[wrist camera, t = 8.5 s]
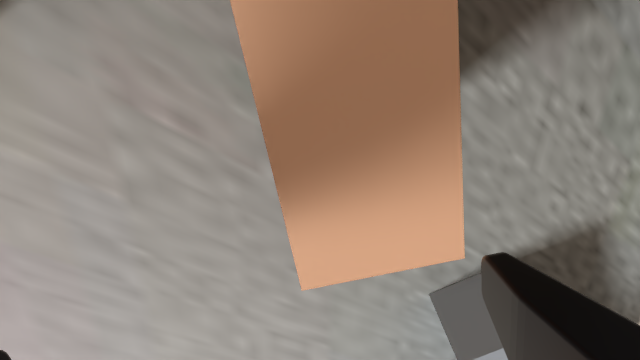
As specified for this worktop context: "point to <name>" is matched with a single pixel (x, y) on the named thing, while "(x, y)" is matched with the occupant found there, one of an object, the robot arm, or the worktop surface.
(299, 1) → the terracotta brick
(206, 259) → the worktop surface
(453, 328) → the slate-grey brick
